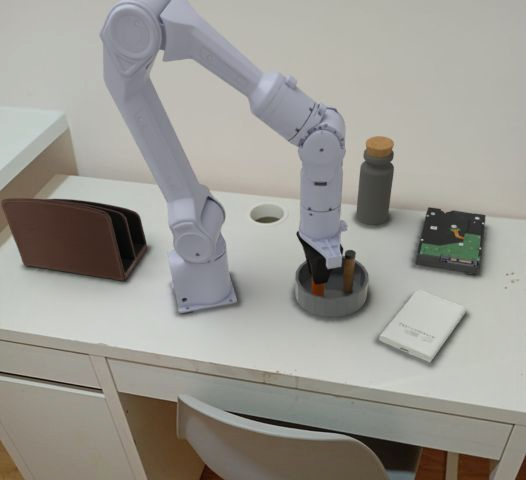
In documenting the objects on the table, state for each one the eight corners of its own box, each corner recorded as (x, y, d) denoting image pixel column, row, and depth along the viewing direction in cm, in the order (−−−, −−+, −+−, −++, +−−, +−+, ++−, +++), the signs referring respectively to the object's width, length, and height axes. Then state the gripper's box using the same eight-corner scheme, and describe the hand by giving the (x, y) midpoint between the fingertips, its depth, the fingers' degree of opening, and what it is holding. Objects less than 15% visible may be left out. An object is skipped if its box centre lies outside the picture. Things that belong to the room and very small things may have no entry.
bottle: (386, 228, 106) (396, 151, 95) (354, 226, 107) (361, 149, 96) (388, 210, 110) (398, 135, 99) (357, 208, 111) (363, 133, 100)
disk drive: (424, 219, 107) (414, 266, 98) (426, 206, 105) (416, 253, 96) (482, 227, 105) (478, 276, 95) (486, 213, 103) (482, 262, 93)
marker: (313, 301, 92) (314, 258, 86) (309, 292, 94) (310, 250, 87) (325, 298, 92) (327, 255, 86) (322, 290, 94) (323, 247, 88)
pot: (306, 325, 89) (306, 305, 86) (287, 280, 97) (287, 260, 94) (376, 311, 90) (379, 292, 87) (352, 268, 98) (354, 249, 95)
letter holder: (125, 282, 98) (105, 210, 88) (23, 266, 102) (-7, 196, 92) (148, 248, 105) (132, 177, 95) (52, 234, 109) (27, 166, 99)
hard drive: (464, 315, 89) (429, 364, 82) (415, 296, 92) (378, 341, 86) (466, 307, 88) (431, 356, 81) (417, 288, 91) (379, 333, 85)
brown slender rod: (344, 294, 93) (346, 256, 88) (340, 288, 94) (343, 250, 89) (353, 292, 93) (357, 255, 88) (350, 286, 94) (353, 248, 89)
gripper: (365, 224, 76) (358, 302, 86) (332, 171, 86) (328, 246, 96) (314, 233, 75) (312, 310, 85) (286, 178, 85) (287, 253, 95)
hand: (318, 277), depth 90 cm, fingers closed on marker, 2 cm apart
